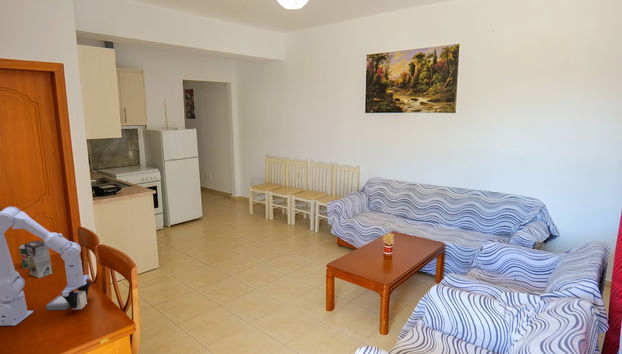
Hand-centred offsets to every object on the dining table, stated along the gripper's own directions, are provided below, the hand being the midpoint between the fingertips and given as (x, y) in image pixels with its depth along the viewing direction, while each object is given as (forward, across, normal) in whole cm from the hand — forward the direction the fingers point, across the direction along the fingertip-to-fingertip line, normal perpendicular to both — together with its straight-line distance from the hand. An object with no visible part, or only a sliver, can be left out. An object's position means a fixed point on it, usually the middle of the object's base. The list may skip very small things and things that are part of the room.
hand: (79, 303), depth 153 cm
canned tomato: (+2, +40, +50) cm, 64 cm away
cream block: (+2, 0, 0) cm, 2 cm away
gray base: (+1, +2, +8) cm, 8 cm away
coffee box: (+2, +30, +38) cm, 48 cm away
